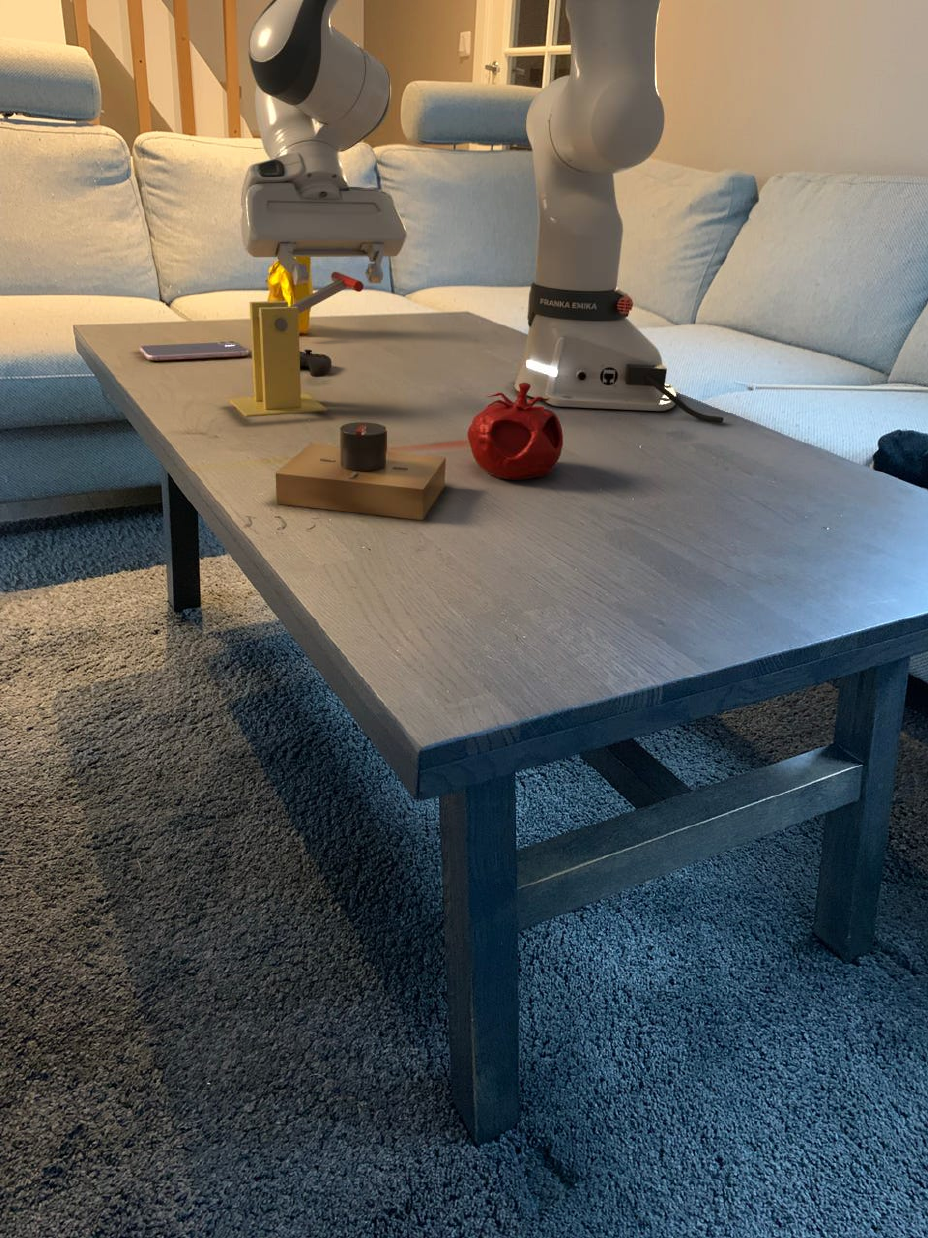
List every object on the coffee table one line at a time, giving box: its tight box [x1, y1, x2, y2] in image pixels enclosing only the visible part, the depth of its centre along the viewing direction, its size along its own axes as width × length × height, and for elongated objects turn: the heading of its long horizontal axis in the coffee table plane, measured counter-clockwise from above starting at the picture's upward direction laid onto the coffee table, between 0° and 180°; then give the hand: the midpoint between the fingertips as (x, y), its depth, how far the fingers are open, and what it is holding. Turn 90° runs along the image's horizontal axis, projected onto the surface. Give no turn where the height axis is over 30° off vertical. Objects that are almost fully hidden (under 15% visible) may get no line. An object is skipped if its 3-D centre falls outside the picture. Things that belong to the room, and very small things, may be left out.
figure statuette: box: [265, 257, 314, 334], centre depth 159 cm, size 18×8×22 cm, turn 23°
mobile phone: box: [139, 340, 250, 362], centre depth 144 cm, size 8×1×15 cm
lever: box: [257, 271, 365, 321], centre depth 114 cm, size 12×8×2 cm, turn 116°
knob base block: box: [275, 442, 447, 521], centre depth 93 cm, size 14×10×3 cm
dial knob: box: [339, 421, 388, 471], centre depth 91 cm, size 4×4×4 cm
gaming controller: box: [300, 349, 333, 378], centre depth 136 cm, size 10×5×6 cm
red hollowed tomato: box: [466, 383, 564, 481], centre depth 100 cm, size 10×10×9 cm
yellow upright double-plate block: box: [228, 300, 328, 418], centre depth 115 cm, size 10×8×13 cm
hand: (339, 280), depth 116 cm, fingers open, 8 cm apart
